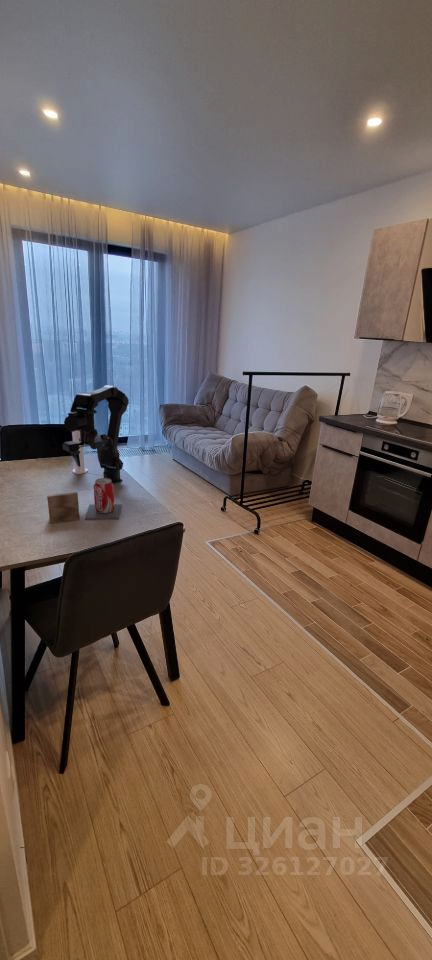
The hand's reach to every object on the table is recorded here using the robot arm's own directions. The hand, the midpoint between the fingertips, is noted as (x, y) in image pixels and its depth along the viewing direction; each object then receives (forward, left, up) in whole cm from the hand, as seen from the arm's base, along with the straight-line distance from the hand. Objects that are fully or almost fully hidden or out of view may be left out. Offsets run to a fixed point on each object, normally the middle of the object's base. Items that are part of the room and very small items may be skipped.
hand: (89, 464), depth 158 cm
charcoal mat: (+5, +19, -13) cm, 23 cm away
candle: (-10, -28, -13) cm, 33 cm away
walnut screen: (+19, +15, -13) cm, 27 cm away
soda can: (+5, +19, -13) cm, 23 cm away
